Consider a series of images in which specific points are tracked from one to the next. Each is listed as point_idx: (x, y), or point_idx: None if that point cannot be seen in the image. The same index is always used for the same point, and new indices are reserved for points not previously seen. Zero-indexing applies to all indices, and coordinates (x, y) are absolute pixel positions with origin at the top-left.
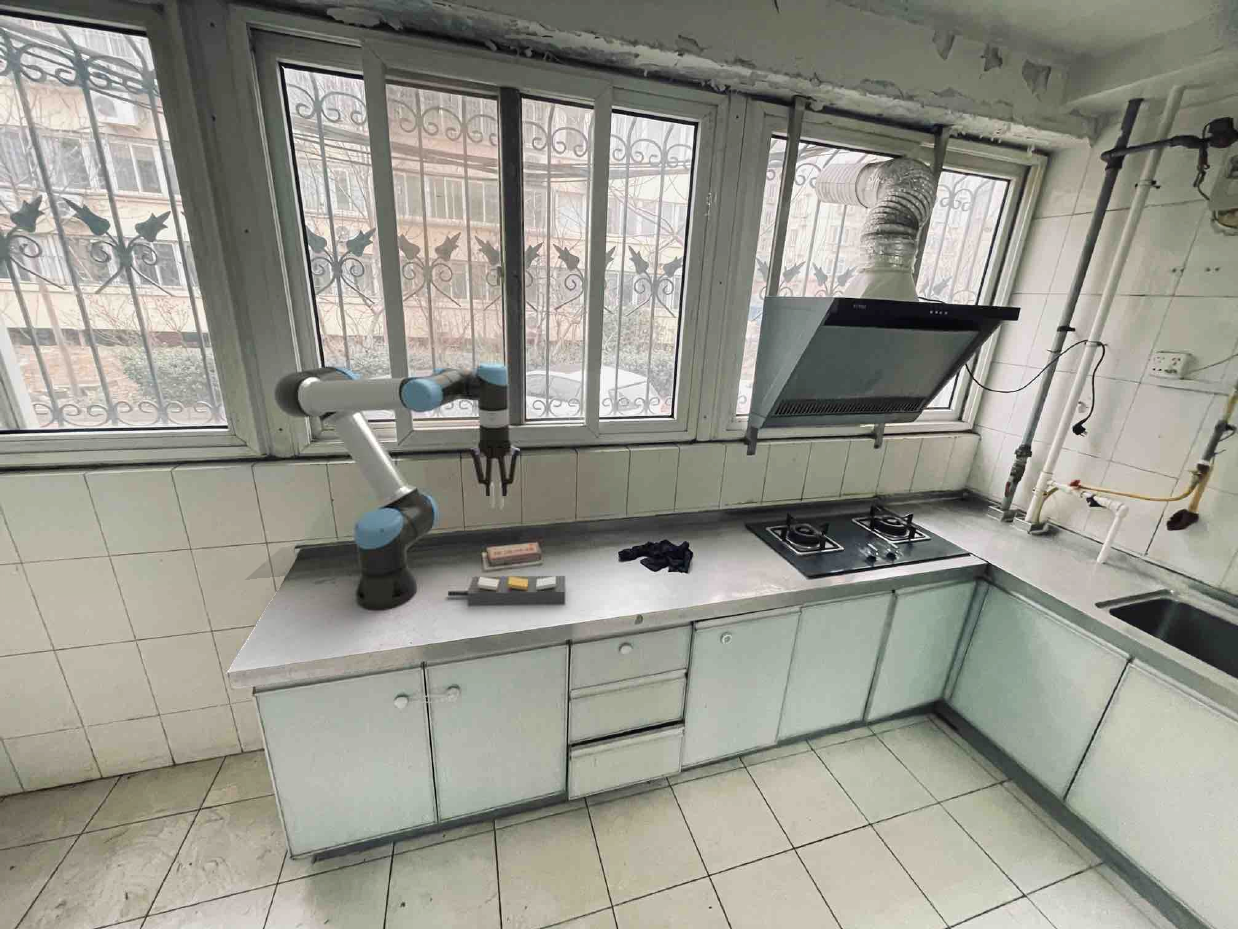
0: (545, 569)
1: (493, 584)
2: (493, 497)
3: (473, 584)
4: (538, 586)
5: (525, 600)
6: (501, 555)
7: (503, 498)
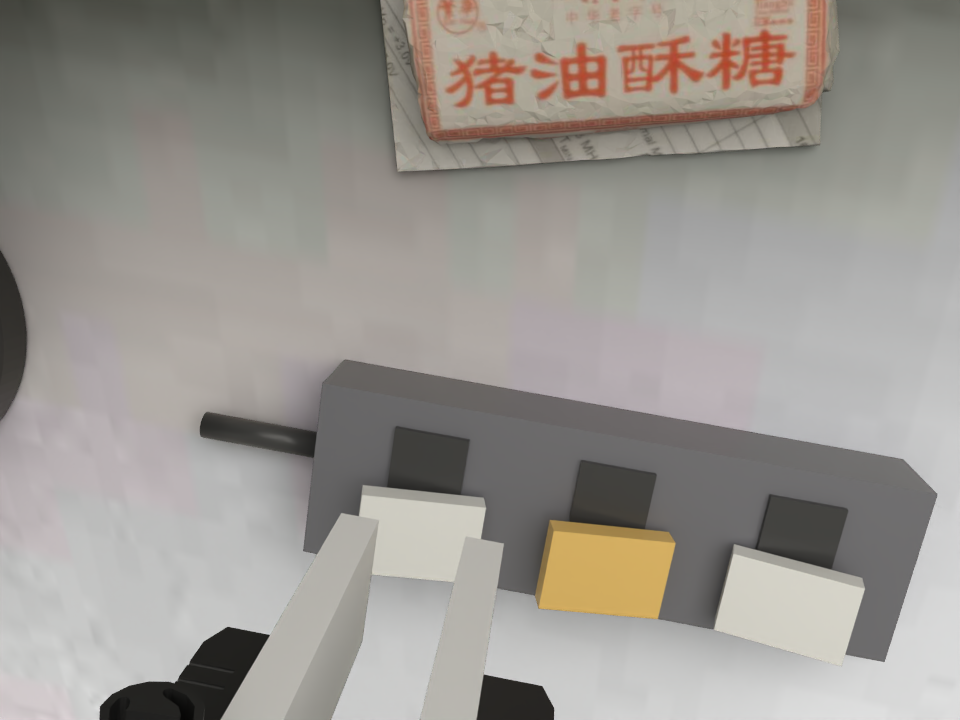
0: (823, 214)
1: (449, 561)
2: (331, 682)
3: (331, 470)
4: (728, 633)
5: None
6: (515, 110)
7: (494, 601)
